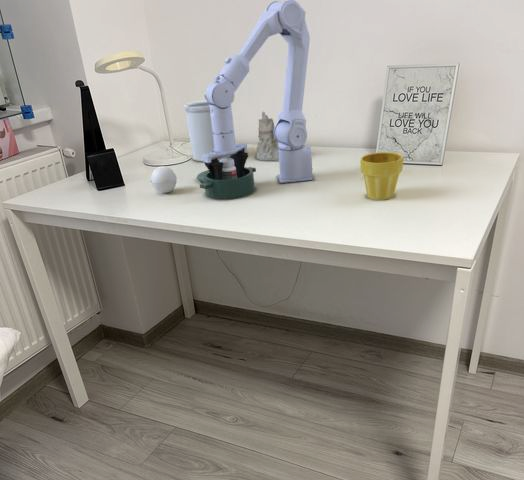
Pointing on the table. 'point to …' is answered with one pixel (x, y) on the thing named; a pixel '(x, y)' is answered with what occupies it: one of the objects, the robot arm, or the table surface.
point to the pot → (229, 186)
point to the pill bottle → (228, 169)
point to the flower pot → (381, 173)
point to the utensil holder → (200, 129)
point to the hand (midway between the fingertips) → (229, 183)
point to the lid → (200, 175)
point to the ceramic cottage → (267, 140)
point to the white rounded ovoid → (163, 179)
